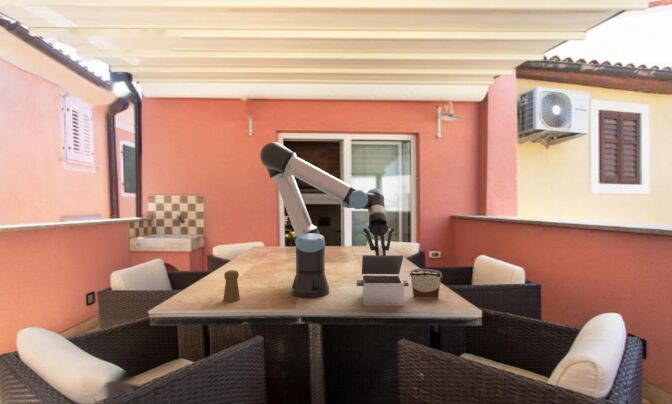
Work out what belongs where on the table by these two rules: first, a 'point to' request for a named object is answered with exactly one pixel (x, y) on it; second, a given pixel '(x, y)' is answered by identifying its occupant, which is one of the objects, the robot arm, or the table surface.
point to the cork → (231, 286)
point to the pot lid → (381, 264)
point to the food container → (425, 283)
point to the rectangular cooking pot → (382, 290)
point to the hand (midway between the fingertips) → (381, 264)
